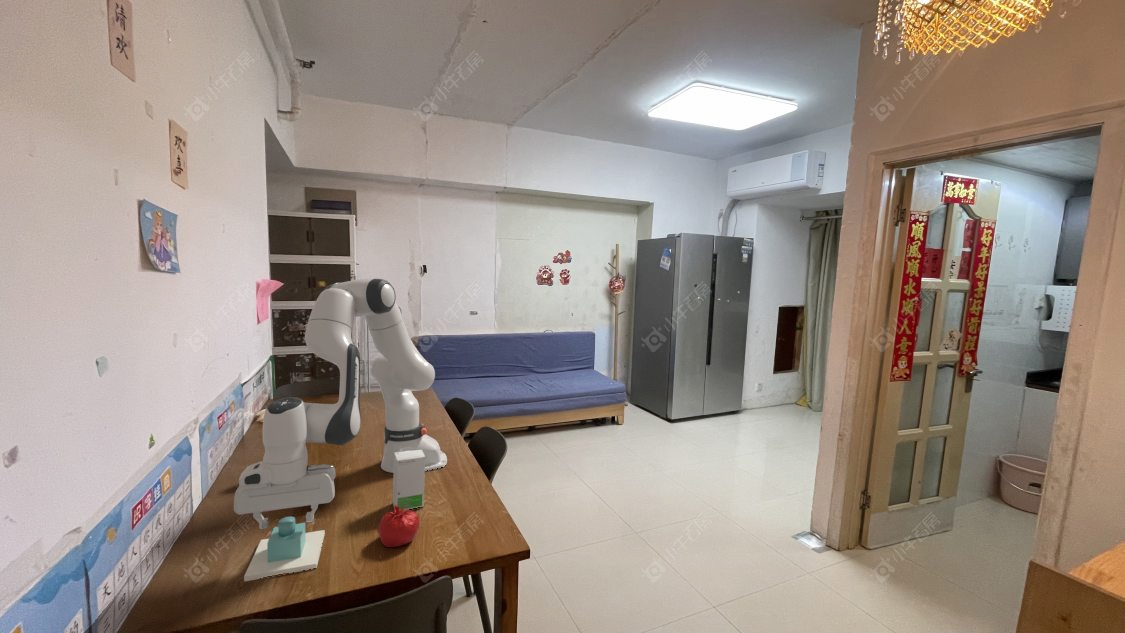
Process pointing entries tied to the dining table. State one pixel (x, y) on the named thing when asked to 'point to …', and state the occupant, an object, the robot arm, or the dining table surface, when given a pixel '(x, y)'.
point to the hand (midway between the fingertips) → (287, 523)
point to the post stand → (305, 562)
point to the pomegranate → (398, 527)
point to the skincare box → (409, 479)
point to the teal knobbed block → (286, 540)
